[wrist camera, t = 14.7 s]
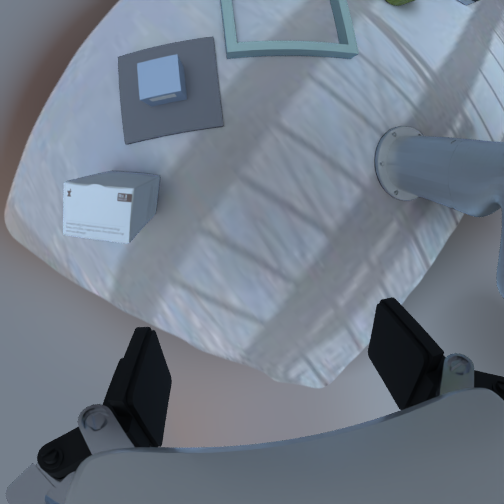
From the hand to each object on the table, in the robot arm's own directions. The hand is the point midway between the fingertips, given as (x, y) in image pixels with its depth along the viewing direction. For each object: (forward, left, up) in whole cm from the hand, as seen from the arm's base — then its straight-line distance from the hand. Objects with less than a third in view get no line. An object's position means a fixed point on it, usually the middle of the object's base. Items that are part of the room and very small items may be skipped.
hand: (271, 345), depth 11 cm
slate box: (+7, -18, -30) cm, 36 cm away
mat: (+7, -18, -31) cm, 37 cm away
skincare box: (+14, -4, -31) cm, 35 cm away
